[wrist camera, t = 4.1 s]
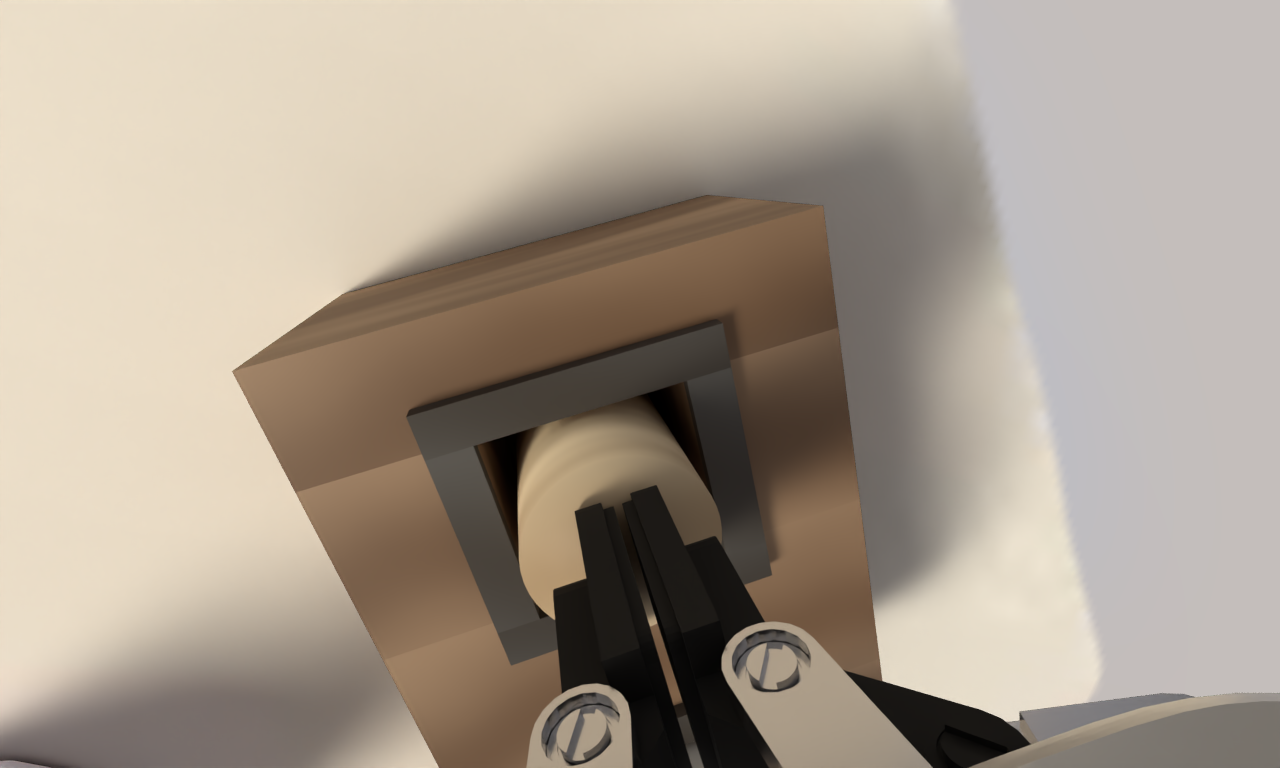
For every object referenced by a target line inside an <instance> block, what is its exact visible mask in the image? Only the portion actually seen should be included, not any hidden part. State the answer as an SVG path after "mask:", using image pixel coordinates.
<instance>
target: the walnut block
mask: <svg viewBox="0 0 1280 768" xmlns="http://www.w3.org/2000/svg"><path fill="white" fill-rule="evenodd" d="M232 372H233V374H234V376H235V378H236V380H237V382H238V383H239V385H240V387H241V389H242V391H243V393H244V395H245V397H246V399H247V401H248V403H249V405H250V406H251V408H252V410H253V412H254V414H255V416H256V418H257V420H258V422H259V424H260V426H261V427H262V429H263V431H264V433H265V435H266V437H267V439H268V441H269V443H270V445H271V447H272V449H273V450H274V452H275V454H276V456H277V458H278V460H279V462H280V464H281V466H282V468H283V470H284V472H285V473H286V475H287V477H288V479H289V481H290V483H291V485H292V487H293V489H294V491H295V493H296V494H297V496H298V498H299V500H300V502H301V504H302V506H303V508H304V510H305V512H306V514H307V516H308V517H309V519H310V521H311V523H312V525H313V527H314V529H315V531H316V533H317V535H318V537H319V538H320V540H321V542H322V544H323V546H324V548H325V550H326V552H327V554H328V556H329V558H330V560H331V561H332V563H333V565H334V567H335V569H336V571H337V573H338V575H339V577H340V579H341V581H342V582H343V584H344V586H345V588H346V590H347V592H348V594H349V596H350V598H351V600H352V602H353V604H354V605H355V607H356V609H357V611H358V613H359V615H360V617H361V619H362V621H363V623H364V625H365V627H366V628H367V630H368V632H369V634H370V636H371V638H372V640H373V642H374V644H375V646H376V648H377V649H378V651H379V653H380V655H381V657H382V659H383V661H384V663H385V665H386V667H387V669H388V671H389V672H390V674H391V676H392V678H393V680H394V682H395V684H396V686H397V688H398V690H399V692H400V693H401V695H402V697H403V699H404V701H405V703H406V705H407V707H408V709H409V711H410V713H411V715H412V716H413V718H414V720H415V722H416V724H417V726H418V728H419V730H420V732H421V734H422V736H423V737H424V739H425V741H426V743H427V745H428V747H429V749H430V751H431V753H432V755H433V757H434V759H435V760H436V762H437V764H438V766H439V768H526V767H527V760H528V752H529V745H530V738H531V735H532V731H533V728H534V724H535V722H536V721H537V719H538V718H539V716H540V714H541V713H542V711H543V710H544V709H545V708H546V707H547V706H548V705H549V704H550V703H551V702H552V701H553V700H554V699H555V698H556V697H558V696H559V695H561V694H562V690H561V679H560V668H559V656H558V645H557V634H556V623H555V620H554V619H553V618H551V617H550V616H549V615H548V614H546V613H545V612H544V611H543V610H542V609H541V608H540V607H539V606H538V605H537V604H536V603H535V602H534V600H533V599H532V597H531V596H530V594H529V593H528V591H527V589H526V586H525V584H524V582H523V579H522V575H521V572H520V564H519V540H518V497H517V453H516V433H518V432H521V431H524V430H528V429H531V428H534V427H538V426H541V425H544V424H547V423H551V422H554V421H557V420H560V419H564V418H567V417H570V416H574V415H577V414H580V413H583V412H587V411H590V410H593V409H596V408H600V407H603V406H606V405H610V404H613V403H616V402H619V401H623V400H626V399H629V398H633V397H636V396H639V395H642V394H646V393H647V395H648V396H649V398H650V399H651V401H652V402H653V404H654V406H655V407H656V409H657V410H658V412H659V414H660V415H661V417H662V418H663V420H664V422H665V423H666V425H667V426H668V428H669V429H670V431H671V433H672V434H673V436H674V437H675V439H676V441H677V442H678V444H679V445H680V447H681V448H682V450H683V452H684V453H685V455H686V456H687V458H688V460H689V461H690V463H691V464H692V466H693V467H694V469H695V471H696V472H697V474H698V475H699V477H700V479H701V480H702V482H703V483H704V485H705V486H706V488H707V490H708V491H709V493H710V494H711V496H712V498H713V500H714V502H715V504H716V506H717V509H718V512H719V515H720V520H721V526H722V542H721V545H722V547H723V549H724V550H725V552H726V554H727V556H728V558H729V559H730V561H731V563H732V565H733V566H734V568H735V570H736V572H737V573H738V575H739V577H740V579H741V580H742V582H743V584H744V586H745V587H746V589H747V591H748V593H749V594H750V596H751V598H752V600H753V602H754V603H755V605H756V607H757V609H758V610H759V612H760V614H761V616H762V617H763V619H764V621H765V622H774V621H775V622H782V623H789V624H792V625H794V626H796V627H799V628H801V629H803V630H804V631H806V632H807V633H808V634H809V635H811V636H812V637H813V638H814V639H815V640H816V641H817V642H818V643H819V644H820V645H821V647H822V648H823V649H824V650H825V651H826V652H827V653H828V654H829V655H830V656H831V657H832V659H833V660H834V661H835V662H836V663H837V664H838V665H839V666H840V667H841V668H842V669H843V670H845V671H849V672H852V673H855V674H859V675H862V676H866V677H869V678H873V679H876V680H879V681H882V675H881V667H880V659H879V651H878V643H877V635H876V627H875V619H874V611H873V603H872V595H871V587H870V579H869V571H868V562H867V554H866V546H865V538H864V530H863V522H862V514H861V506H860V498H859V490H858V482H857V474H856V466H855V458H854V450H853V442H852V434H851V426H850V418H849V410H848V402H847V394H846V386H845V378H844V370H843V362H842V354H841V346H840V338H839V330H838V322H837V313H836V305H835V297H834V289H833V281H832V273H831V265H830V257H829V249H828V241H827V233H826V225H825V217H824V209H823V206H820V205H809V204H798V203H787V202H776V201H765V200H755V199H744V198H733V197H722V196H711V195H706V196H702V197H698V198H695V199H691V200H687V201H684V202H680V203H676V204H672V205H669V206H665V207H661V208H658V209H654V210H650V211H647V212H643V213H639V214H636V215H632V216H628V217H625V218H621V219H617V220H614V221H610V222H606V223H603V224H599V225H595V226H592V227H588V228H584V229H581V230H577V231H573V232H570V233H566V234H562V235H559V236H555V237H551V238H547V239H544V240H540V241H536V242H533V243H529V244H525V245H522V246H518V247H514V248H511V249H507V250H503V251H500V252H496V253H492V254H489V255H485V256H481V257H478V258H474V259H470V260H467V261H463V262H459V263H456V264H452V265H448V266H445V267H441V268H437V269H434V270H430V271H426V272H423V273H419V274H415V275H411V276H408V277H404V278H400V279H397V280H393V281H389V282H386V283H382V284H378V285H375V286H371V287H367V288H364V289H360V290H356V291H353V292H349V293H345V294H342V295H341V296H339V297H338V298H336V299H335V300H333V301H332V302H331V303H329V304H328V305H326V306H325V307H323V308H322V309H321V310H319V311H318V312H316V313H315V314H313V315H312V316H311V317H309V318H308V319H306V320H305V321H303V322H302V323H301V324H299V325H298V326H296V327H295V328H293V329H292V330H291V331H289V332H288V333H286V334H285V335H283V336H282V337H280V338H279V339H278V340H276V341H275V342H273V343H272V344H270V345H269V346H268V347H266V348H265V349H263V350H262V351H260V352H259V353H258V354H256V355H255V356H253V357H252V358H250V359H249V360H248V361H246V362H245V363H243V364H242V365H240V366H239V367H238V368H236V369H235V370H233V371H232ZM650 629H651V632H652V635H653V639H654V642H655V645H656V649H657V652H658V655H659V659H660V662H661V665H662V669H663V672H664V675H665V678H666V682H667V685H668V688H669V692H670V695H671V698H672V702H673V705H674V708H675V712H676V715H677V718H678V722H679V725H680V728H681V732H682V735H683V738H684V742H685V745H686V744H689V743H691V742H694V741H695V739H694V736H693V733H692V730H691V726H690V723H689V720H688V717H687V714H686V711H685V708H684V705H683V702H682V698H681V695H680V692H679V689H678V686H677V683H676V680H675V677H674V674H673V670H672V667H671V664H670V661H669V658H668V655H667V652H666V649H665V646H664V642H663V639H662V636H661V633H660V630H659V627H658V624H655V625H653V626H650Z"/></svg>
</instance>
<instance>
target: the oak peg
mask: <svg viewBox="0 0 1280 768" xmlns="http://www.w3.org/2000/svg"><path fill="white" fill-rule="evenodd" d="M516 453H517V497H518V540H519V564H520V572H521V575H522V579H523V582H524V584H525V586H526V589H527V591H528V593H529V594H530V596H531V597H532V599H533V600H534V602H535V603H536V604H537V605H538V606H539V607H540V608H541V609H542V610H543V611H544V612H545V613H546V614H548V615H549V616H550V617H551V618H553V619H554V620H555V612H554V601H553V590H554V589H555V588H559V587H562V586H565V585H568V584H571V583H574V582H577V581H580V580H583V579H586V573H585V568H584V562H583V557H582V551H581V545H580V540H579V534H578V529H577V523H576V517H575V511H576V510H579V509H582V508H585V507H588V506H592V505H595V504H598V503H601V504H602V507H603V509H606V508H609V507H613V506H614V510H615V513H616V516H617V520H618V523H619V526H620V529H621V533H622V536H623V539H624V543H625V546H626V549H627V553H628V556H629V559H630V563H631V566H632V569H633V572H634V576H635V579H636V582H637V586H638V589H639V592H640V596H641V599H642V602H643V606H644V609H645V612H646V615H647V619H648V622H649V625H650V626H653V625H655V624H657V620H656V617H655V614H654V611H653V607H652V604H651V600H650V597H649V594H648V590H647V587H646V583H645V580H644V577H643V573H642V570H641V566H640V563H639V560H638V556H637V553H636V549H635V546H634V543H633V539H632V536H631V532H630V529H629V526H628V522H627V519H626V515H625V512H624V509H623V505H622V503H625V502H628V501H631V500H632V499H631V495H630V493H632V492H635V491H638V490H642V489H645V488H648V487H651V486H654V485H657V487H658V489H659V491H660V493H661V496H662V498H663V500H664V502H665V504H666V506H667V508H668V511H669V513H670V515H671V517H672V519H673V521H674V523H675V526H676V528H677V530H678V532H679V534H680V536H681V538H682V541H683V543H684V545H688V544H691V543H694V542H697V541H700V540H703V539H706V538H709V537H712V536H716V537H717V539H718V540H719V542H720V543H721V542H722V526H721V520H720V515H719V512H718V509H717V506H716V504H715V502H714V500H713V498H712V496H711V494H710V493H709V491H708V490H707V488H706V486H705V485H704V483H703V482H702V480H701V479H700V477H699V475H698V474H697V472H696V471H695V469H694V467H693V466H692V464H691V463H690V461H689V460H688V458H687V456H686V455H685V453H684V452H683V450H682V448H681V447H680V445H679V444H678V442H677V441H676V439H675V437H674V436H673V434H672V433H671V431H670V429H669V428H668V426H667V425H666V423H665V422H664V420H663V418H662V417H661V415H660V414H659V412H658V410H657V409H656V407H655V406H654V404H653V402H652V401H651V399H650V398H649V396H648V395H647V393H646V394H642V395H639V396H636V397H633V398H629V399H626V400H623V401H619V402H616V403H613V404H610V405H606V406H603V407H600V408H596V409H593V410H590V411H587V412H583V413H580V414H577V415H574V416H570V417H567V418H564V419H560V420H557V421H554V422H551V423H547V424H544V425H541V426H538V427H534V428H531V429H528V430H524V431H521V432H518V433H516Z"/></svg>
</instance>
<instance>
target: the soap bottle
mask: <svg viewBox="0 0 1280 768" xmlns="http://www.w3.org/2000/svg"><path fill="white" fill-rule="evenodd" d="M0 768H50V767H45V766H40V765H35V764H29V763H24V762H19V761H0Z"/></svg>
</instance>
